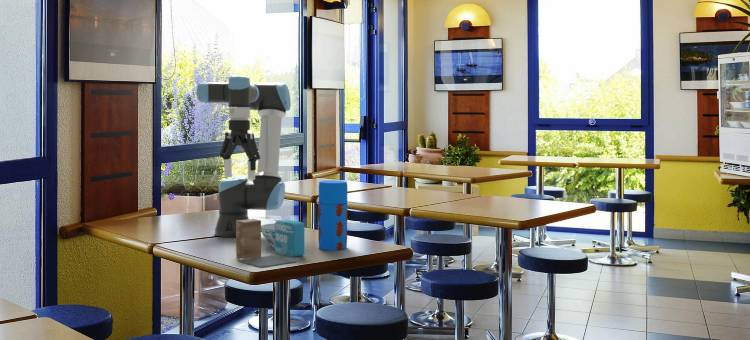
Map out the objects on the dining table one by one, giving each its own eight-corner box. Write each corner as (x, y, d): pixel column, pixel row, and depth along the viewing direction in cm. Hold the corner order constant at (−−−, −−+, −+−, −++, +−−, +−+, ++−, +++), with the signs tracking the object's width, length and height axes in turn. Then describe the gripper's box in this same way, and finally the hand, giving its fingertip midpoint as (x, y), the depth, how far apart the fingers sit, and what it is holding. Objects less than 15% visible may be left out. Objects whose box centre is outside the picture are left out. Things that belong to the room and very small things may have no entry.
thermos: (314, 246, 291) (314, 180, 289) (341, 244, 295) (341, 180, 293) (324, 251, 281) (324, 183, 279) (351, 249, 285) (351, 182, 283)
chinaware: (263, 250, 282) (263, 229, 281) (258, 243, 296) (258, 223, 295) (303, 249, 286) (303, 228, 285) (296, 242, 300) (296, 222, 299)
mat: (237, 261, 261) (237, 260, 261) (271, 256, 271) (271, 255, 271) (261, 267, 251) (261, 266, 251) (295, 262, 260) (295, 261, 260)
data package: (274, 252, 278) (274, 220, 277) (284, 251, 281) (284, 218, 280) (294, 257, 269) (294, 223, 268) (304, 256, 272) (304, 222, 271)
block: (236, 257, 268) (236, 220, 267) (253, 255, 273) (253, 218, 272) (244, 259, 265) (243, 222, 264) (261, 257, 269) (261, 220, 268)
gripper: (209, 118, 281) (210, 176, 282) (253, 119, 264) (253, 181, 265) (226, 118, 286) (226, 175, 288) (269, 119, 269) (270, 180, 271)
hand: (239, 178), depth 277 cm, fingers open, 13 cm apart
